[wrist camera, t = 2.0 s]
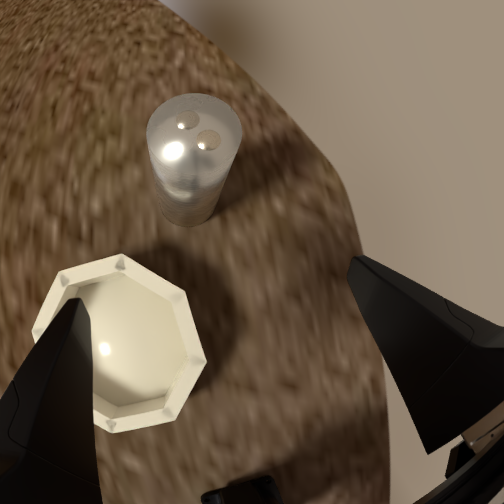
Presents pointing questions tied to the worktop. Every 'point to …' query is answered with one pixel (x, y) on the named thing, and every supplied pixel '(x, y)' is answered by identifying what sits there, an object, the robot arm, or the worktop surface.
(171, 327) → the bowl
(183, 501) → the worktop surface
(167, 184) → the canister
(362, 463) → the worktop surface
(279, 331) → the worktop surface
